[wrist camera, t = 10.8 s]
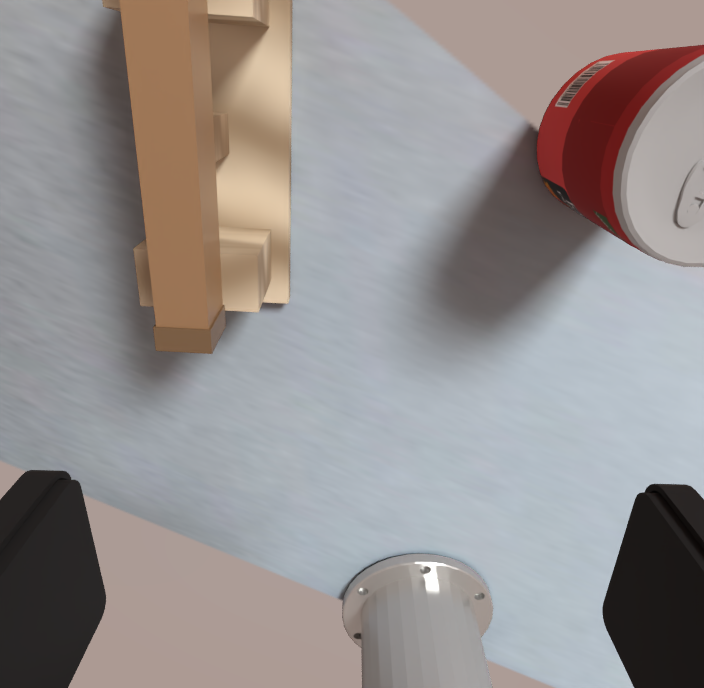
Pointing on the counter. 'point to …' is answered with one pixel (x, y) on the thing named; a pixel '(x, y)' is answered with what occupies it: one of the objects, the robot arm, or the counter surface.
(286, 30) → the display stand
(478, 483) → the counter surface
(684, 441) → the counter surface
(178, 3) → the frame bar
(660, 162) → the canned food
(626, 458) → the counter surface
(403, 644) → the robot arm
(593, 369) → the counter surface
